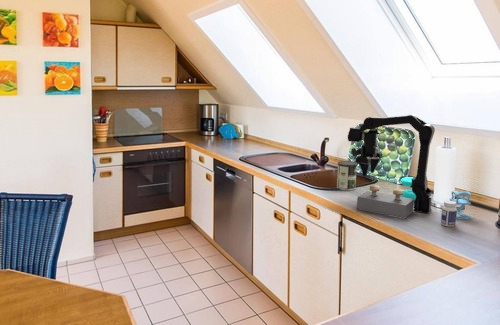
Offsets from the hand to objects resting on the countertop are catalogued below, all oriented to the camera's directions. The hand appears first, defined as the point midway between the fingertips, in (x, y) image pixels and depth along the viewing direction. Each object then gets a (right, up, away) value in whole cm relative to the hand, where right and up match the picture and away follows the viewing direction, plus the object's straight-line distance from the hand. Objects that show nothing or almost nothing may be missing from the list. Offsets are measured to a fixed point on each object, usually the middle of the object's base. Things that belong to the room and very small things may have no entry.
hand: (368, 174), depth 210 cm
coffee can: (-5, -8, +28) cm, 29 cm away
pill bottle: (+25, -21, -29) cm, 44 cm away
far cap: (0, -12, -8) cm, 14 cm away
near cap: (+9, -13, -14) cm, 21 cm away
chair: (+35, -18, -18) cm, 43 cm away
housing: (+5, -16, -10) cm, 20 cm away
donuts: (+24, -12, +9) cm, 28 cm away
